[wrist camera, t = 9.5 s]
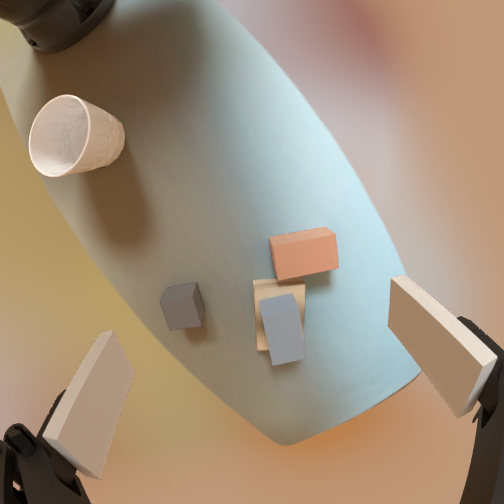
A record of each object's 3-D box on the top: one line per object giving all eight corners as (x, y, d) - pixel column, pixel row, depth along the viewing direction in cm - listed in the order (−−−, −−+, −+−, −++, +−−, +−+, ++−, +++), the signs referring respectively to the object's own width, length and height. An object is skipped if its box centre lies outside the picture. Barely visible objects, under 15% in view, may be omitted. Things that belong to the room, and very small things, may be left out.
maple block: (252, 278, 35) (254, 288, 32) (299, 275, 35) (305, 284, 32) (255, 337, 38) (257, 350, 35) (298, 333, 38) (302, 346, 35)
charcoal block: (167, 287, 35) (159, 301, 31) (196, 282, 34) (192, 296, 31) (176, 314, 36) (170, 330, 32) (204, 309, 36) (201, 325, 32)
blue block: (258, 300, 33) (261, 317, 29) (292, 292, 33) (299, 308, 29) (269, 346, 35) (272, 366, 31) (299, 339, 35) (306, 358, 31)
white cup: (142, 136, 29) (106, 126, 19) (101, 185, 30) (56, 194, 21) (104, 98, 27) (62, 80, 17) (66, 146, 28) (18, 145, 19)
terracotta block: (273, 267, 35) (278, 280, 31) (268, 236, 33) (272, 245, 30) (328, 257, 34) (338, 268, 31) (324, 226, 33) (335, 234, 29)
